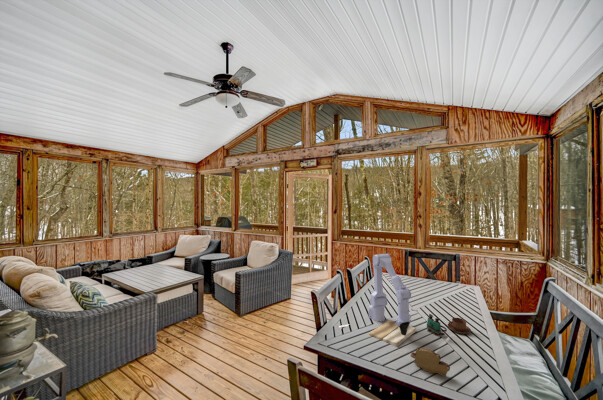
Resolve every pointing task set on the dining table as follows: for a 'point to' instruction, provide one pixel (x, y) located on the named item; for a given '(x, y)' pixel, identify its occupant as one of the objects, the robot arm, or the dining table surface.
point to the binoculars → (435, 326)
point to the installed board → (384, 330)
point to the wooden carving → (430, 361)
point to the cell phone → (343, 326)
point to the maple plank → (398, 336)
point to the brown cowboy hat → (459, 326)
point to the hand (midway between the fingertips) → (403, 334)
